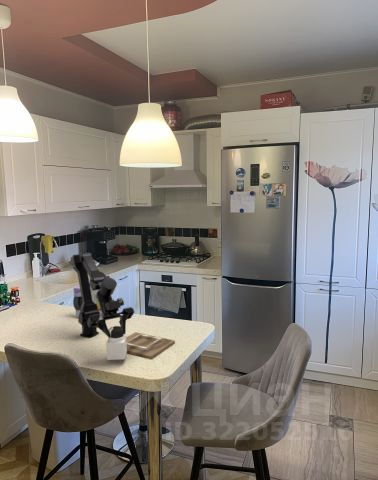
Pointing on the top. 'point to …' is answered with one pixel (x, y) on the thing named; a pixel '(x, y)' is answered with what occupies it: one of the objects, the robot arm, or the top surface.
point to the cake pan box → (78, 300)
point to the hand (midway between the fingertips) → (117, 335)
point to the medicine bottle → (116, 344)
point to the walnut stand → (147, 345)
